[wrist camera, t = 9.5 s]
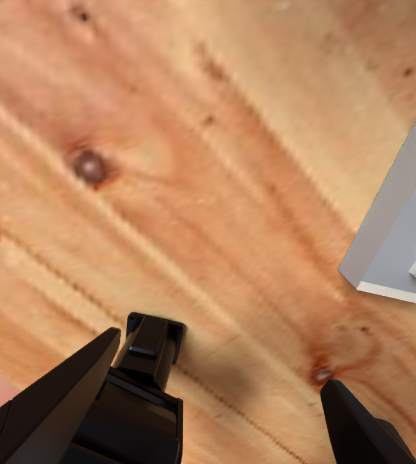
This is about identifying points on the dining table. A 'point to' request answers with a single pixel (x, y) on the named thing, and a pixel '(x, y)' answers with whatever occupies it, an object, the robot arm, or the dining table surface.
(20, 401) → the robot arm
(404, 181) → the dock
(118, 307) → the dining table surface
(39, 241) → the dining table surface
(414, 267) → the pallet
